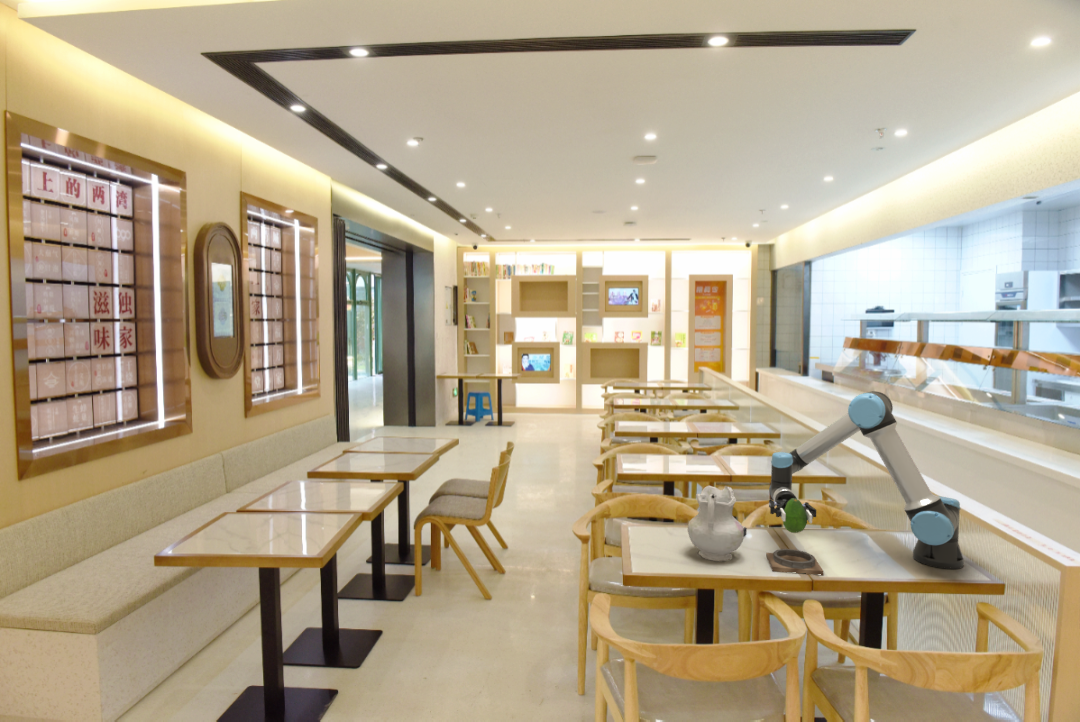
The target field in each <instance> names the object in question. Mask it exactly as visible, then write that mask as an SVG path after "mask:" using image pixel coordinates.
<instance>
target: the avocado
mask: <svg viewBox="0 0 1080 722" xmlns="http://www.w3.org/2000/svg"><path fill="white" fill-rule="evenodd" d="M796 498H797V497H796ZM796 498H792V499H790V500H789V501H788V502H787V505H786V507H785V509H784V512H785V513H786V518H785V521H783V520H782V523H783V527H784V528H785V530H786V531H788V532H789V533H793V534H796V533H797V534H798V533H800V532H803V530H805V528H806V525H808V520H807V515H806V512H805V509H804V507H803V505H802V504H803V503H802V502H801V501H800V500H799V499H798V498H797V499H796Z"/></svg>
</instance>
